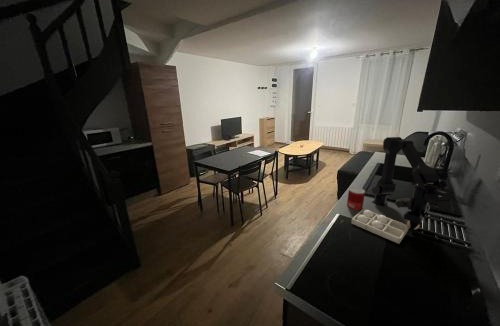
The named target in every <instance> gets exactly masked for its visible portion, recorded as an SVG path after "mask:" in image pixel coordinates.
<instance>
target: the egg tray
mask: <svg viewBox="0 0 500 326" xmlns="http://www.w3.org/2000/svg"><path fill="white" fill-rule="evenodd" d="M364 210H366V209H365V208H362V209H361V210H359V212H358V213H357V214H356V215H354V216H352V218H351V224H352V225H355V226H356V227H359V228H362V229H364V230H366V231H368V232H370V233H373V234H375V235H378V236H380V237H382V238H384V239H387V240H389V241H391V242H393V243H396V244H398V245H400V243H401V242H402V240H403V239H404V237H405V236H406V234H407V233H408V231H409V229H410V228H409V225H407V223H404V222H401V221H398V220H394V219H392V218H390V217H387V219H388V222H387V223H386V224H384V223H382V225H383V228H382V229H381V230H379V229H377V228H374V227H372V226H371V223H372V222H373V221H375V220H377V217H378V216H379V215H380V214H378V213H376V212H373V211H371V212H372V213H373V217H372V218H368V217H367V219H368V221H367V223H366V224H365V223H362V222H360V221H357V217H358V216H359V215H363V211H364Z"/></svg>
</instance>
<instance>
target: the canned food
mask: <svg viewBox="0 0 500 326" xmlns="http://www.w3.org/2000/svg"><path fill="white" fill-rule="evenodd" d="M365 196H366V190H365V189H364V188H361V187H355V186H353V187H350V188H349V189H348V193H347V202H346V206H347V208H349V209H352V210H353V211H354V210H355V211H361V210H362V209H363V205H364V203H365V201H364V200H365Z"/></svg>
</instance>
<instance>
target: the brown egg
mask: <svg viewBox="0 0 500 326" xmlns="http://www.w3.org/2000/svg"><path fill="white" fill-rule="evenodd" d="M406 225H409V229H410V230H412V229H411V228H410V221H409V220H407V222H406ZM419 228H420V224H419V225H418V226H417V227H416V228H415V229H414V230H413V231H415V230H418V229H419Z"/></svg>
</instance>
